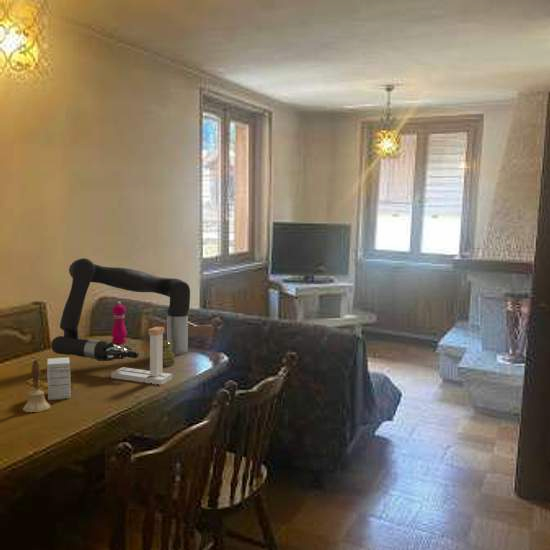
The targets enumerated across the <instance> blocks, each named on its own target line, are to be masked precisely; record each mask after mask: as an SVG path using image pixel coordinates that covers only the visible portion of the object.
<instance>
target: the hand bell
mask: <svg viewBox="0 0 550 550" xmlns="http://www.w3.org/2000/svg"><path fill="white" fill-rule="evenodd" d="M31 376H32V380H33V384H32V385H33V388H32V390H31V391H29V393H28V399H27V402H26V404H25V405H24V406H23V408H22V411H23V412H25V413H29V412H31V414H33V413H32V412H35V413H41V412H45V411H48V410H49V409H50V408H51V404H50V403H49V402H47V400H46V397H45V392H44V391H43V390H41V389H40V382H39V380H40V376H41V366H40V363H39V361H38V359H33V361H32V365H31Z"/></svg>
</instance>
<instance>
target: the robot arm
mask: <svg viewBox="0 0 550 550" xmlns="http://www.w3.org/2000/svg"><path fill="white" fill-rule="evenodd" d="M68 273H69V275H70V277H71V278H72V282H71V283H72V284H71V287H70V291H69V294H68V298H67V299H66V302H65V305H64V308H63V311H62V315H61V319H60V323H59V328H60V329H61V330H62V331H63V336H62V335H58V336H56V337H54V338H53V339H52V341H51V342H50V348H51V350H52V351H53V353H54V354H58V355H65V356H76V357H80V358H81V357H82V358H87V359H91V360H97V361H102V362H103V361H104V362H105V361H106V362H109V361H110V360H111V361H112V359H113V360H124V359H128V358H130V359H137V358H139V356H140V354H139V351H135V350H134V351H133V349H132V347H129V346H127V345H124V346H123V347H122V346H119V345H117V346H115V347H114V345H113V344H114V343H112V341H107V340H99V339H85V338H79V325H80V320H81V316H82V311H83V307H84V304H85V299H86V296H87V292H88V290H89V287H90V284H91V283H96V284H103V285H105V286H108V287H113V288H116V289H119V290H120V289H121V290H123V291H129V292H135V293H152V294H153V293H155V294H159V295H163V296H165V297H168V298H169V306H168V308H167V312H166V313H167V314H166V316H167V317H166V319H167V321H166V322H167V323H166V324H167V325H166V331H167V333H166V340H167V341H169V342H171V343H172V345H171V346H170V347H169V349H170V350H171V351H172V352H174V354H175V355H183V354H187V353H188V351H189V350H188V348H189V347H188V343H189V342H188V341H189V329H188V328H189V326H188V325H189V310H190V302H191V301H190V300H191V288H190V285H189V284H188V283H187V282H186V281H185V280H181V279H180V278H170V277H160V276H156V275H153V274H151V273H148V272H144V271H140V270H135V269H132V268H126V267H125V268H124V267H113V266H111V267H110V266H109V267H108V266H102V265H99V264H96V263H94V262H93V261H92V260H90V259H89V258H79V259H77V260H74V261H73V262H72V263H71V264H70V265H69V268H68Z"/></svg>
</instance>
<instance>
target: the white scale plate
mask: <svg viewBox="0 0 550 550" xmlns="http://www.w3.org/2000/svg"><path fill="white" fill-rule="evenodd" d="M110 378H111V379H116V380H117V379H118V380H123V381H124V380H125V381H130V380H131V382H138V383H143V382H145V384H150V383H152V384H151V385H157V384H159V386H163V385H164V384H166V383H168V382H169V380H170V381H172V380H173V373H167V372H162V374H161V375H159V376H157V377H155V376H150V370H146V369H139V368H134V367H133V368H132V367H131V368H130V367H125V366H123V367H120V368H118V369H115V370H114V371H111V372H110ZM167 381H168V382H167ZM162 384H163V385H162Z"/></svg>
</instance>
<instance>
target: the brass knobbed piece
mask: <svg viewBox="0 0 550 550" xmlns="http://www.w3.org/2000/svg"><path fill="white" fill-rule="evenodd" d="M171 345H172V343H171V342H169V341H167V339H166V340H164V341H163V367H169V366H170V365H171V366H173V364H174V365H175V363H176V362H175V360H176V358H175V356H176V354H174V352H172V351H171V350H170V349H169V347H170V346H171ZM171 366H170V367H171Z"/></svg>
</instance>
